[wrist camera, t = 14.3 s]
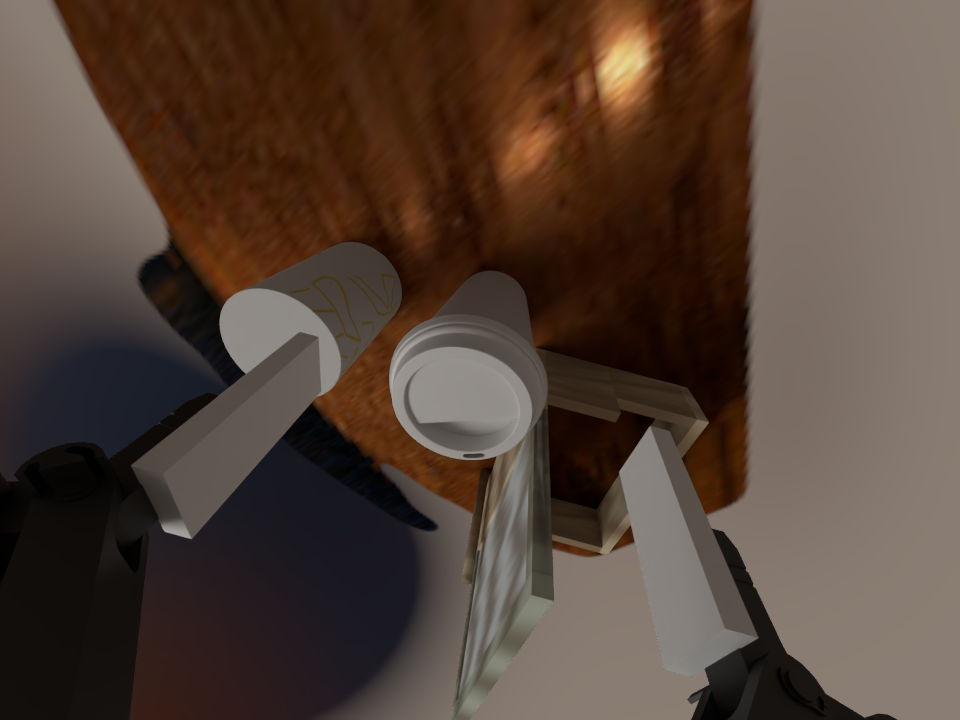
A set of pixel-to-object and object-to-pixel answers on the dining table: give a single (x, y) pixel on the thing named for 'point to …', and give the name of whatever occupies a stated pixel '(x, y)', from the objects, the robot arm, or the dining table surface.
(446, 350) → the coffee cup
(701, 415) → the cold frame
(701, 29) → the dining table surface
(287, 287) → the white cylinder
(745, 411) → the dining table surface
